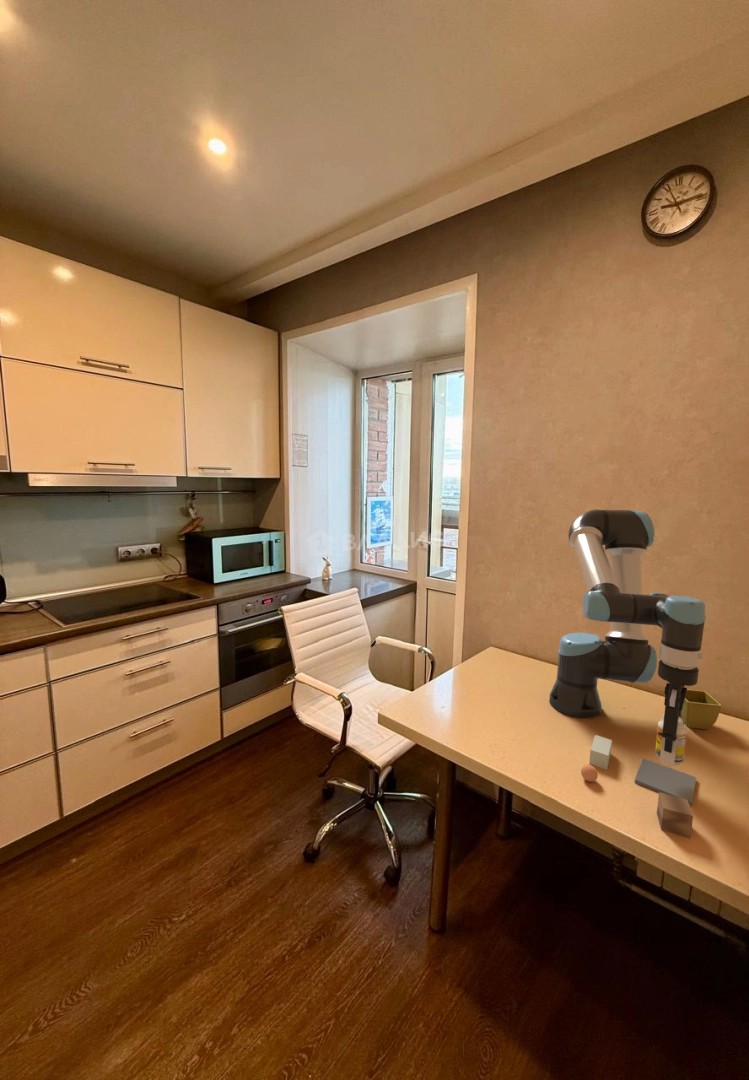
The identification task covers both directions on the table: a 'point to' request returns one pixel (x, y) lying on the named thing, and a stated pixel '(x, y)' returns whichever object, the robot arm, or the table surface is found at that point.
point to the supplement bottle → (679, 745)
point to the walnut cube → (674, 815)
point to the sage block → (600, 752)
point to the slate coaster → (666, 780)
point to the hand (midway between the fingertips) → (668, 756)
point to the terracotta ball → (589, 773)
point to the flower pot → (700, 709)
